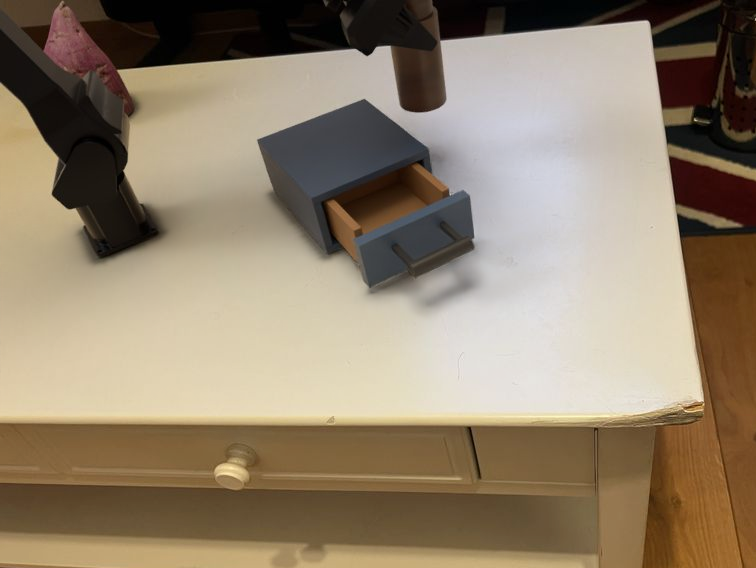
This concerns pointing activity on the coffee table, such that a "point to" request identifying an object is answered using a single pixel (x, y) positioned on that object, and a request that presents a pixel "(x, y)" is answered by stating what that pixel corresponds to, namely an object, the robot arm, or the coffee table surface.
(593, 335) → the coffee table surface
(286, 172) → the cabinet
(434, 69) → the pepper mill
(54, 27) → the vegetable
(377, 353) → the coffee table surface
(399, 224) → the drawer
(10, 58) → the robot arm
